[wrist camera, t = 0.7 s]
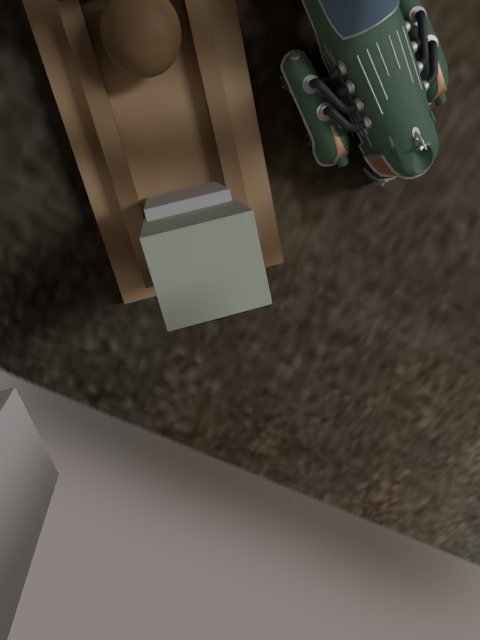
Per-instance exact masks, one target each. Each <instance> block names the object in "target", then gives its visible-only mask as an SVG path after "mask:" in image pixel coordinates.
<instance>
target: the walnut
mask: <svg viewBox="0 0 480 640" xmlns="http://www.w3.org/2000/svg"><path fill="white" fill-rule="evenodd" d="M100 32H101V38H102V42H103V45H104V47H105V49H106V52H107V53H108V55H109V57H110V58H111V59H112V61H113V62H114V63H115V64H116V65H117V66H118V67H119V68H120V69H122V70H123V71H124V72H126V73H128V74H130V75H132V76H135V77H140V78H151V77H155V76H158V75H160V74H162V73H164V72H165V71H167V70H168V69H169V68H170V67H171V66H172V64H173V63H174V61H175V60H176V58H177V56H178V53H179V50H180V46H181V27H180V22H179V18H178V16H177V13H176V11H175V9H174V8H173V6H172V4H171V3H170V2H169V0H107V1H106V3H105V5H104V7H103V10H102V13H101V19H100Z"/></svg>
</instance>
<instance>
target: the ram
mask: <svg viewBox="0 0 480 640" xmlns="http://www.w3.org/2000/svg"><path fill="white" fill-rule="evenodd" d="M144 212H145V217H144V222H143V226H142V230H141V234H140V242H141V245H142V248H143V252H144V255H145V258H146V261H147V265H148V268H149V271H150V274H151V278H152V281H153V284H154V288H155V291H156V294H157V297H158V301H159V304H160V307H161V310H162V314H163V317H164V320H165V324H166V327H167V330H168V331H172V330H176V329H179V328H183V327H187V326H190V325H194V324H198V323H202V322H205V321H209V320H213V319H217V318H220V317H224V316H228V315H232V314H235V313H239V312H243V311H247V310H250V309H254V308H258V307H262V306H265V305H269V304H272V300H271V295H270V290H269V285H268V281H267V276H266V271H265V266H264V261H263V256H262V251H261V246H260V241H259V236H258V231H257V226H256V221H255V216H254V212H253V210H252V209H251V208H249V207H247V206H246V205H244V204H242V203H241V202H239V201H238V200H236V199H234V198H233V197H231V193H230V189H229V188H227V187H225V186H223V185H221V184H219V183H217V182H215V181H213V182H209V183H204V184H200V185H196V186H192V187H188V188H184V189H180V190H176V191H172V192H167V193H163V194H159V195H155V196H151V197H147V200H146V204H145V207H144Z"/></svg>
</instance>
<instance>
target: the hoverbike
mask: <svg viewBox="0 0 480 640" xmlns="http://www.w3.org/2000/svg"><path fill="white" fill-rule="evenodd" d="M301 1H302V3H303V5H304V11H305V12H306V13H307V15H308V17H309V20H310V22H311V25H312V27H313V30H314V32H315V35H316V39H317V43H318V46H319V50H320V53H321V57H322V60H323V63H324V65H325V67H326V69H327V71H328V73H329V74H328V75H327V76H324V77H321V78H320V77H319V75H318V73H317V72H316V70H315V68H314V66H313V65H312V63H311V61H310V60H309V58H308V57H307V55H306V53H305V52H303V51H300V50H295V49H292V50H291V51H290V52H288V53H287V54H286V55H285V56H284V57H283V59H282V61H281V65H280V69H281V72H282V73H281V76H280V77H279V78H280V81H281V86H282V88H284V90H285V91H287V92H288V93H289V92H290V93H291V95H292V97H293V99H294V101H295V104H296V106H297V108H298V110H299V113H300V115H301V117H302V121H303V124H304V126H305V128H306V130H307V135H306V136H307V141H308V143H309V144H308V145H311V147H312V153H313V155H314V158H315V160H316V162H317V163H318V164H319V165H320V166H324V167H327V166H332V165H335V164H337V165H338V166H339V168H340V167H343V166H345V165H347V164H348V163H349V160H348V157H347V155H348V151H349V146H350V141H349V137H348V134H347V132H350V133H351V137H352V139H353V141H354V143H355V145H356V147H357V150H358V152H359V154H360V157H361V159H362V161H363V164H364V166H365V168H362V170H363V172H364V173H365V175H366V176H367V177H369V178H370V179H371V180H372V181H376V182H379V183H380V185H381V186H383V185H384V183H386V182H388V181H392V180H394V179H396V178H397V177H399V178H402V179H414V178H417V177H419V176H421V175H423V174H424V173H425V172H426V171H427V170H428V169H429V168H430V166H431V165H432V164H433V161H434V159H435V157H436V155H437V154H438V147H439V144H438V135H437V131H436V127H435V122H436V119H435V117H434V114H433V112H432V111H431V110H430V107H429V105H430V104H431V103H433V102H435V104H436V106H439V105H442V104H443V103H445V102H446V96H445V93H446V92H447V87H448V66H447V62H446V59H445V56H444V52H443V50H442V47H441V45H440V42H439V40H438V38H437V35H436V33H435V31H434V29H433V27H432V25H431V22H430V20H429V18H428V16H427V14H426V11H425V9H424V8H423V6H422V4H421V2H420V0H301ZM332 83H333V84H334V85H333V86H332V87H330V88H329V87H328V86H327V84H332ZM338 97H340V99H341V100H340V99H339V98H338ZM338 111H339V112H340V113H342V114H346V115H348V120H347V119H346V118H345V117H343V116H342V115H341V114H340V113H339V112H338ZM351 122H352V123H351ZM353 132H356V133H357V135H358V137H359V139H360V140H355V137H354V133H353ZM357 142H361V143H359V144H358V145H357ZM359 148H360V150H361V152H362V153H363V156H362V154H361V152H360V150H359ZM363 158H364V159H363ZM364 160H365V161H366V163H365V161H364ZM367 166H369V167H370V168H371V169H370V168H368V167H367ZM367 169H368V170H369V171H372V172H375V173H376V174H378V176H379V177H376V176H374V175H373V174H372V173H370V172H369V171H368V170H367Z"/></svg>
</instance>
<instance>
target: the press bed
mask: <svg viewBox="0 0 480 640" xmlns="http://www.w3.org/2000/svg"><path fill="white" fill-rule="evenodd" d="M106 1H107V0H22V2H23V5H24V8H25V11H26V14H27V17H28V20H29V23H30V26H31V29H32V32H33V35H34V37H35V40H36V43H37V46H38V49H39V52H40V55H41V58H42V61H43V64H44V67H45V70H46V73H47V76H48V79H49V82H50V85H51V88H52V91H53V94H54V97H55V100H56V103H57V106H58V109H59V112H60V114H61V117H62V120H63V123H64V126H65V129H66V132H67V135H68V138H69V141H70V144H71V147H72V150H73V153H74V156H75V159H76V162H77V165H78V168H79V171H80V174H81V177H82V180H83V183H84V186H85V189H86V191H87V194H88V197H89V200H90V203H91V206H92V209H93V212H94V215H95V218H96V221H97V224H98V227H99V230H100V233H101V236H102V239H103V242H104V245H105V248H106V251H107V254H108V257H109V260H110V263H111V266H112V268H113V271H114V274H115V277H116V280H117V283H118V286H119V289H120V292H121V295H122V298H123V301H124V304H127V303H131V302H134V301H138V300H142V299H146V298H150V297H154V296H157V294H156V291H155V288H154V284H153V281H152V278H151V274H150V271H149V268H148V265H147V261H146V258H145V255H144V252H143V248H142V245H141V242H140V234H141V230H142V226H143V222H144V217H145V212H144V207H145V204H146V200H147V197H151V196H155V195H159V194H163V193H167V192H172V191H176V190H180V189H184V188H188V187H192V186H196V185H200V184H204V183H209V182H213V181H215V182H217V183H219V184H221V185H223V186H225V187H227V188H229V189H230V193H231V197H233V198H234V199H236V200H238V201H239V202H241V203H242V204H244V205H246V206H247V207H249V208H251V209H252V210H253V212H254V216H255V221H256V226H257V231H258V236H259V241H260V246H261V251H262V256H263V261H264V266H265V267H269V266H273V265H276V264H280V263H284V261H283V255H282V250H281V244H280V239H279V234H278V228H277V223H276V217H275V212H274V207H273V201H272V196H271V190H270V185H269V180H268V174H267V169H266V163H265V158H264V153H263V147H262V142H261V137H260V131H259V126H258V120H257V115H256V110H255V104H254V99H253V93H252V88H251V83H250V77H249V72H248V66H247V61H246V56H245V50H244V45H243V39H242V34H241V29H240V23H239V18H238V12H237V7H236V2H235V0H169V2H170V3H171V4H172V6H173V8H174V9H175V11H176V13H177V16H178V18H179V22H180V27H181V46H180V50H179V53H178V56H177V58H176V60H175V61H174V63H173V64H172V66H171V67H170V68H169V69H168V70H167V71H165V72H164V73H162V74H160V75H158V76H155V77H151V78H140V77H135V76H132V75H130V74H128V73H126V72H124V71H123V70H122V69H120V68H119V67H118V66H117V65H116V64H115V63H114V62H113V61H112V59H111V58H110V57H109V55H108V53H107V52H106V49H105V47H104V45H103V42H102V38H101V32H100V19H101V13H102V10H103V7H104V5H105V3H106Z"/></svg>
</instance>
